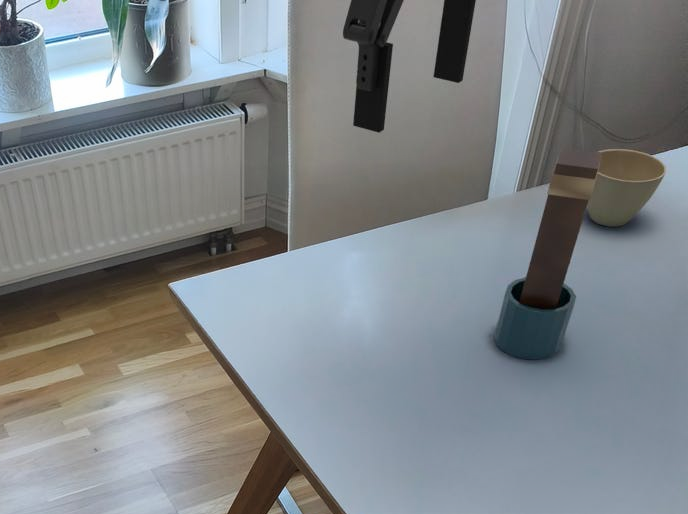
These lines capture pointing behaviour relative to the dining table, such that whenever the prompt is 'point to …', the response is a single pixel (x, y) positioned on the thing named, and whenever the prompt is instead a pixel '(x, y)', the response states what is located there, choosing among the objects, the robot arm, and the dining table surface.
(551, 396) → the dining table surface
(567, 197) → the dark brown long bar
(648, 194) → the flower pot
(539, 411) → the dining table surface
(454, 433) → the dining table surface
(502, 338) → the holder
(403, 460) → the dining table surface
